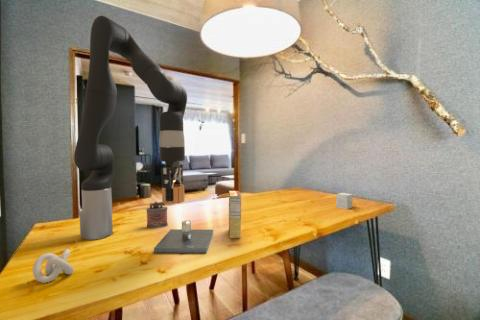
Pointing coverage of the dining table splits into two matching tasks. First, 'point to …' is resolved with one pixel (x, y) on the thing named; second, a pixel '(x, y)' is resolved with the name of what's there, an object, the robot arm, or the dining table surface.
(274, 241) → the dining table surface
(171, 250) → the base
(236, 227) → the candy box
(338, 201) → the skincare box
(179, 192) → the wooden tube
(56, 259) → the knot
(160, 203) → the lighter
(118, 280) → the dining table surface
